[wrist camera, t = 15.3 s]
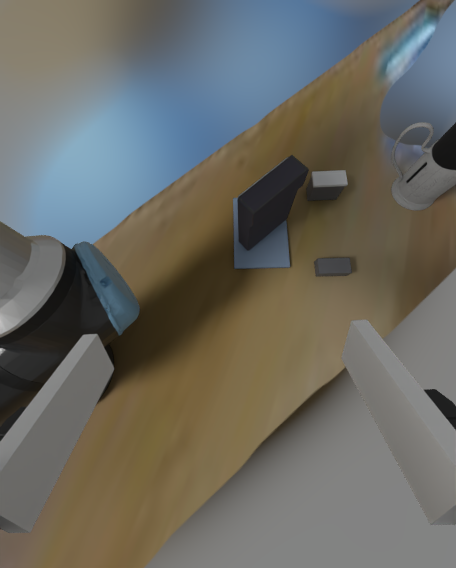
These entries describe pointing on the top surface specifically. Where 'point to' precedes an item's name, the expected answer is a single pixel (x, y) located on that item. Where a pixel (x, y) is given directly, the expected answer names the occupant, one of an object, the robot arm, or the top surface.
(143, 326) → the top surface
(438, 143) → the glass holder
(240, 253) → the rubber mat
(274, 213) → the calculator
